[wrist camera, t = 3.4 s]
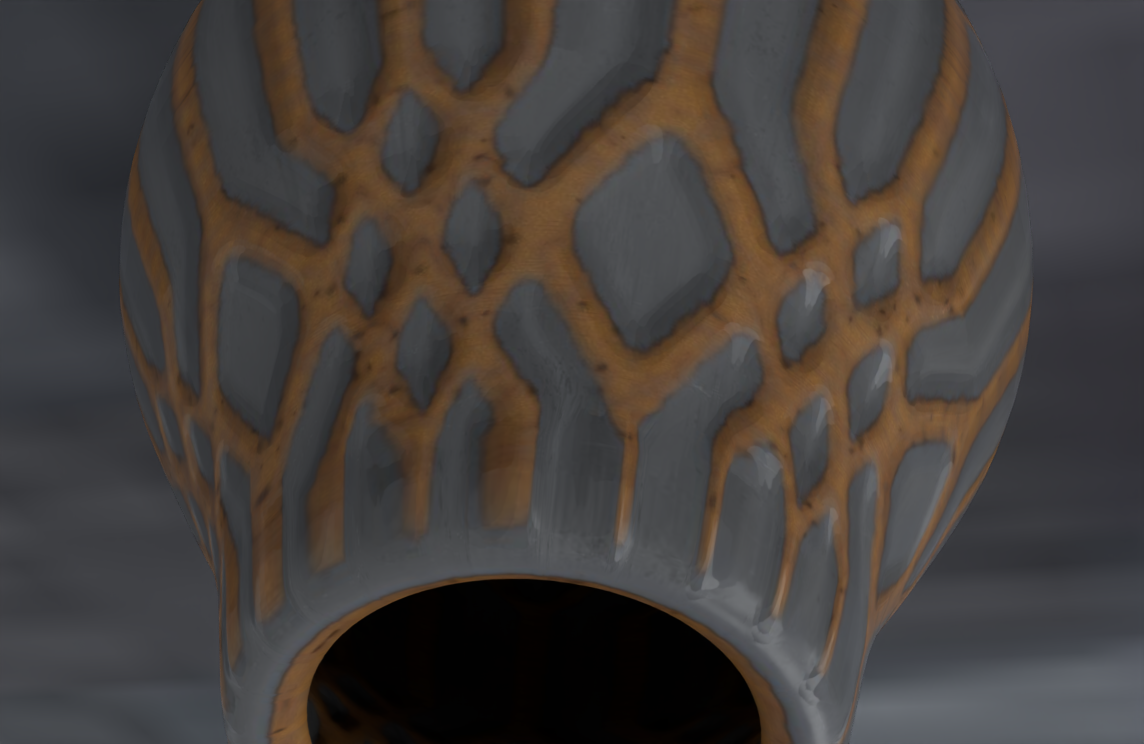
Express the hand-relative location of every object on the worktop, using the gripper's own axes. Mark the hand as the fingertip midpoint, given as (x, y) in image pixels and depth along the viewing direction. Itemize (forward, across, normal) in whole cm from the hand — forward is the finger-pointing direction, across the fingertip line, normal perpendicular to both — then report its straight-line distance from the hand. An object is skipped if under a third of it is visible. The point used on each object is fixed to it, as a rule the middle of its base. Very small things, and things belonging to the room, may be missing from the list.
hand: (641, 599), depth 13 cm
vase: (+2, 0, -6) cm, 7 cm away
